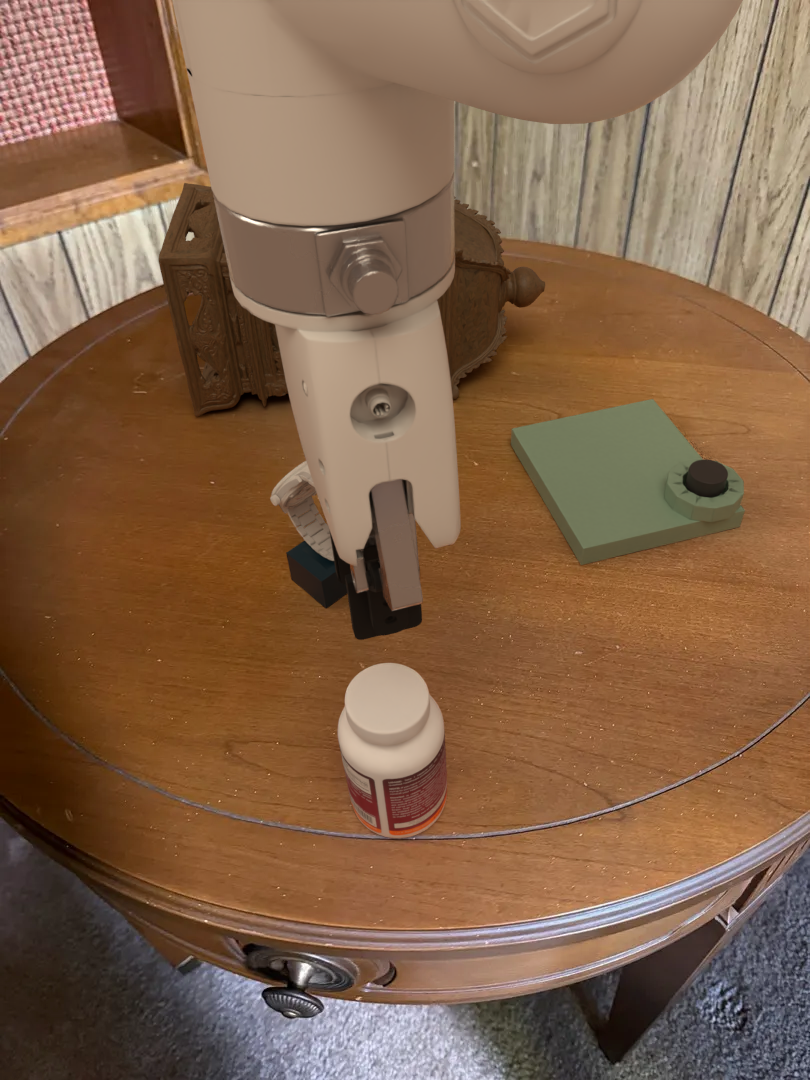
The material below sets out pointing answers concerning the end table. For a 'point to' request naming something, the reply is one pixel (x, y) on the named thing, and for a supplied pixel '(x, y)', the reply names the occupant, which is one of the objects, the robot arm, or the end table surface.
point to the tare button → (706, 478)
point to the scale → (622, 481)
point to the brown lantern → (251, 343)
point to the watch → (308, 538)
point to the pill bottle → (393, 751)
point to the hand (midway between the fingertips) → (378, 598)
